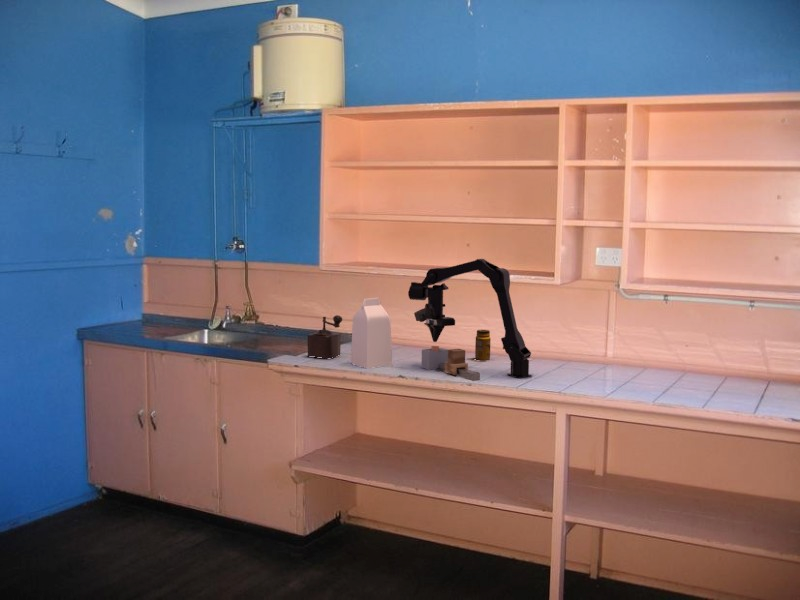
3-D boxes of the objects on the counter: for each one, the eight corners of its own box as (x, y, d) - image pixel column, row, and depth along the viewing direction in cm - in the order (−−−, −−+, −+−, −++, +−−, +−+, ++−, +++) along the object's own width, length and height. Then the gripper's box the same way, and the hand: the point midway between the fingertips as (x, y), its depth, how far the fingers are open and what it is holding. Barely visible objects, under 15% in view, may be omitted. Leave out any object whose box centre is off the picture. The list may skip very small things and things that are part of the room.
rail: (483, 379, 286) (483, 372, 286) (469, 381, 283) (469, 374, 283) (448, 369, 305) (448, 362, 305) (435, 370, 302) (435, 363, 302)
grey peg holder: (448, 367, 307) (448, 349, 307) (428, 369, 303) (428, 351, 302) (441, 365, 312) (441, 347, 311) (421, 367, 307) (421, 349, 306)
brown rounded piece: (440, 354, 306) (440, 346, 306) (434, 355, 305) (434, 347, 304) (436, 353, 309) (436, 345, 308) (429, 354, 307) (429, 346, 307)
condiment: (494, 360, 325) (495, 330, 323) (478, 362, 320) (478, 332, 319) (483, 357, 331) (483, 328, 330) (466, 359, 326) (467, 330, 325)
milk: (366, 368, 305) (367, 300, 302) (350, 364, 314) (350, 298, 311) (392, 365, 312) (393, 298, 309) (375, 361, 321) (376, 296, 318)
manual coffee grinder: (305, 357, 327) (305, 314, 325) (319, 353, 337) (319, 311, 335) (339, 360, 321) (339, 316, 319) (352, 356, 331) (352, 313, 329)
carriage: (467, 373, 294) (468, 350, 293) (454, 374, 291) (454, 351, 290) (458, 370, 299) (458, 348, 298) (444, 372, 296) (445, 349, 295)
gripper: (404, 299, 308) (404, 339, 310) (431, 304, 292) (430, 347, 294) (428, 298, 314) (428, 337, 316) (456, 303, 298) (455, 344, 300)
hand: (434, 341), depth 306 cm, fingers closed
